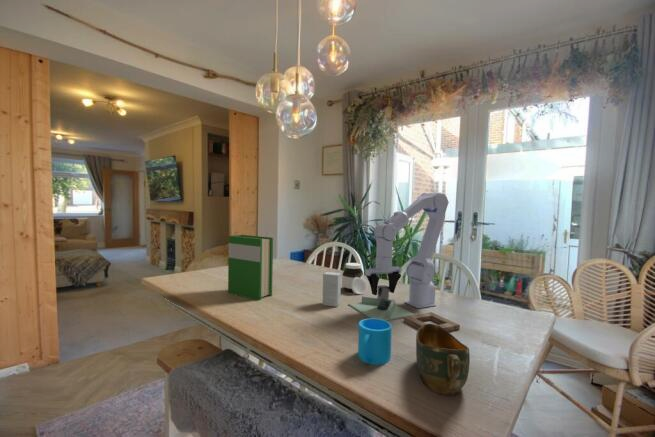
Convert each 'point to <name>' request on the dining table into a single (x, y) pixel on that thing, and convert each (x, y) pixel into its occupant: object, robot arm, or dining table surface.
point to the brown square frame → (444, 323)
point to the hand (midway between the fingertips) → (383, 293)
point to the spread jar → (353, 278)
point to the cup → (441, 360)
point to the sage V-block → (371, 311)
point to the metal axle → (382, 297)
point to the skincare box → (331, 289)
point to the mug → (374, 341)
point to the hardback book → (250, 266)
